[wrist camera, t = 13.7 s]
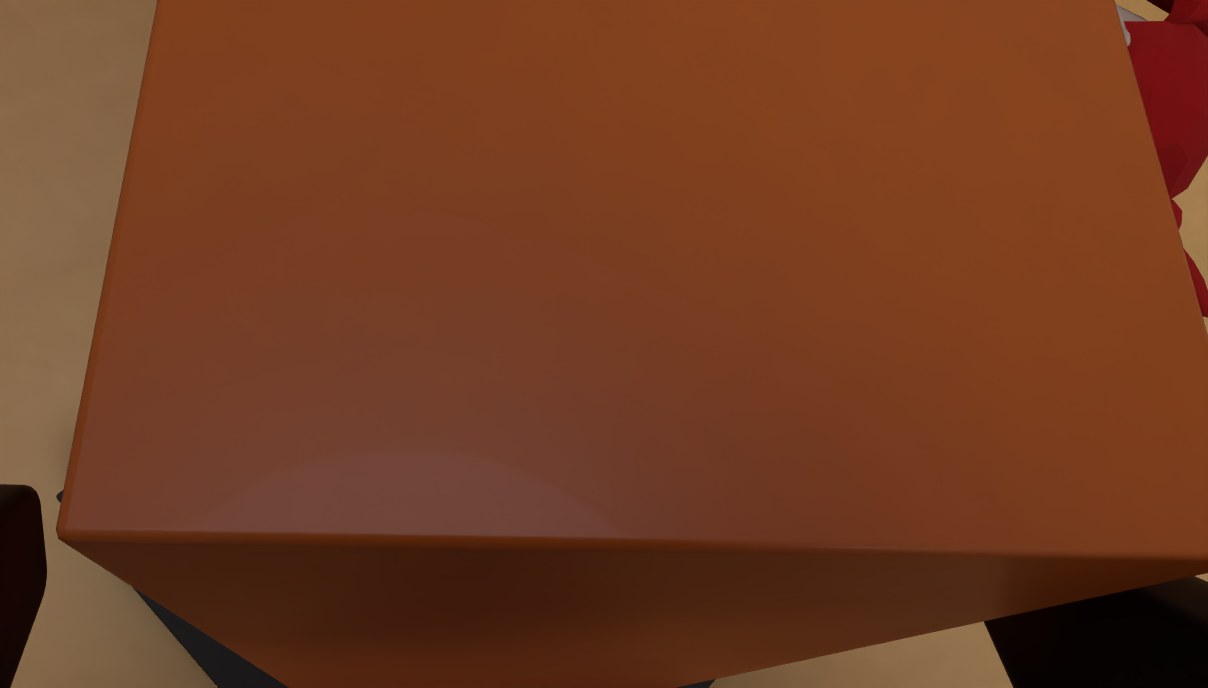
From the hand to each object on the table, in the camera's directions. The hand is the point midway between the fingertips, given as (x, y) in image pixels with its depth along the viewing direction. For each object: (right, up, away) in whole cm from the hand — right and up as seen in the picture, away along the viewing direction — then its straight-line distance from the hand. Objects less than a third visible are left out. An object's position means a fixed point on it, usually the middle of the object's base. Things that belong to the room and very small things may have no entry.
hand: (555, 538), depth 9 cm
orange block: (-2, -1, +8) cm, 9 cm away
